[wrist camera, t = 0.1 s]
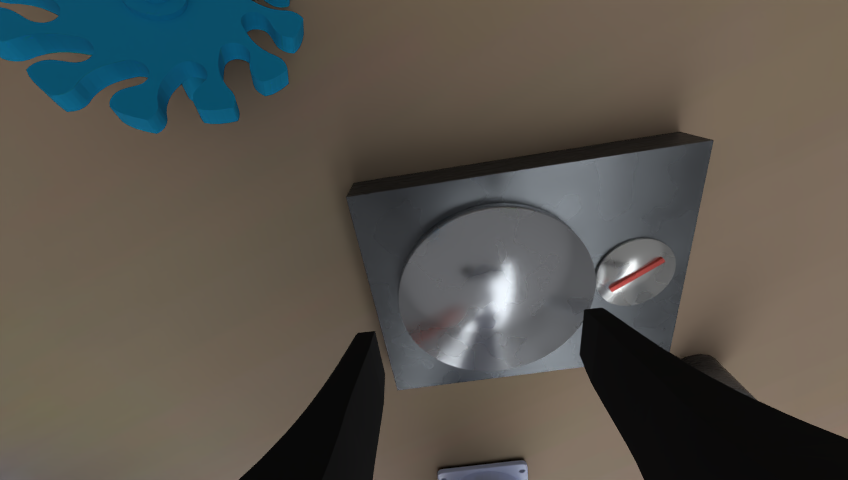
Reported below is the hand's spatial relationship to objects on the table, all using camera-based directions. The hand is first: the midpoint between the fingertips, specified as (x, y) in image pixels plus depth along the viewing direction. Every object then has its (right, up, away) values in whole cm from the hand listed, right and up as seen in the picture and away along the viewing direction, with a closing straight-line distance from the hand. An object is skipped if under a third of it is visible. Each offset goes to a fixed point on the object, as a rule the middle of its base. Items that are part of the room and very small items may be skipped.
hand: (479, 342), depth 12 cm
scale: (+4, +2, +10) cm, 11 cm away
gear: (-12, +14, +4) cm, 19 cm away
